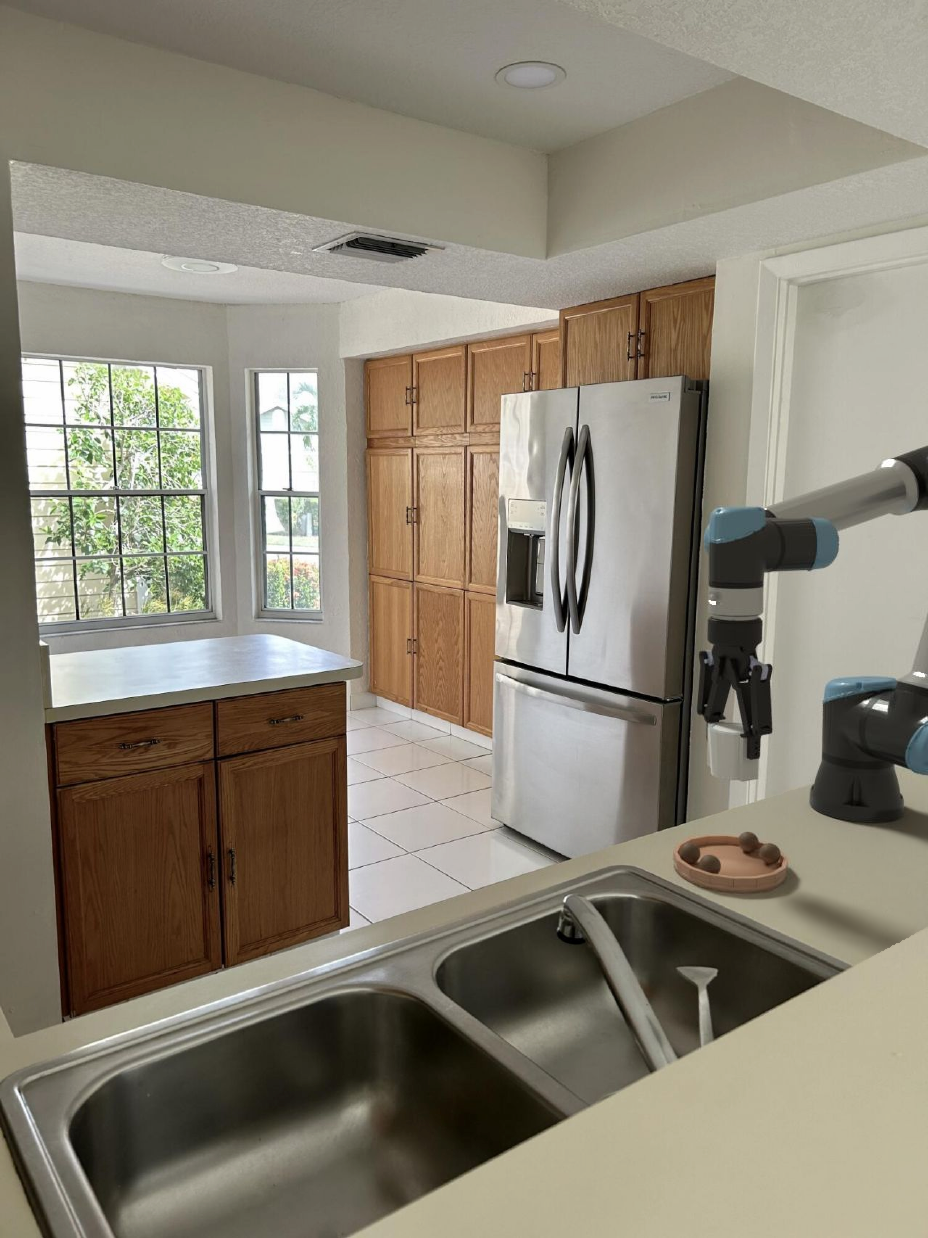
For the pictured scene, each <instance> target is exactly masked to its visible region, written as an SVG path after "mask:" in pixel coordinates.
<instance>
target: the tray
mask: <svg viewBox="0 0 928 1238" xmlns="http://www.w3.org/2000/svg"><path fill="white" fill-rule="evenodd" d="M739 836H740V835H732V834H704V835H698V836H693V837H692V836H691V837H689V838H686V839H684V840H681V841H680V842H678V843H676V846H675V847H674V849H673V852H672V854H673V855H672V860H673V863H674V864H673V867H674V871H675V872H676V873H677V874H678V875H679V877H681V878H683V880H685V881H687V882H689V883H691V884H693V885H694V886H695V885H696V886H698V887H701V888H705V889H706V890H712V891H717V892H721V893H732V894H754V893H763V892H767V891H771V890H774V889H776V888H778V887H780V886H782V885H783V884H784V883H785V882H786V880H787V876H788V866H789V864H788V863H789V858H788V857H787V856H786V855H785V853H784V852H783V851H782V850H780V849H779V850H780V852H781V857H780V859H779V861H778V862H776V863H774V864H767V863H765V862H764V861H762V859H761V858H760V855H759V851H760V848H761V847H762V846H763V845H764V844H766V843H767V842H765V841H762V840H759V845H758V847H757V849H756V850H754V851H752V852H746V851H744V850H742V849H741V848H740V846H739V844H738V839H739ZM685 843H694V844H695V845H697V846H698V848H699V849H700V858H699V860H698V861H697V862H695V863H691V864H690V863H686V862H684V861H683V860H682V859H681V857H680V848H681V847H682V845H684V844H685ZM705 855H713V856H715V857H717V858H718V859H719V861H720V863H721V869H720V872H719V873H718V874H712V873H709V872H706V871H703V870H700V867H699V863H700V860H701V858H702V857H704V856H705Z"/></svg>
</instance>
